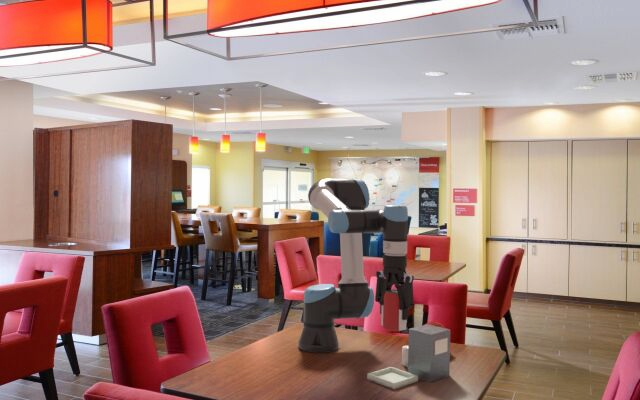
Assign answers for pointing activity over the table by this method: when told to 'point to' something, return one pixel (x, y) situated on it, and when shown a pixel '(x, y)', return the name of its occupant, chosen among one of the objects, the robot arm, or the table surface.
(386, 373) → the tray
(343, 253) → the robot arm
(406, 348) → the white egg
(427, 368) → the box
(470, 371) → the table surface
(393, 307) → the beer can
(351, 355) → the table surface
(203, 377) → the table surface
